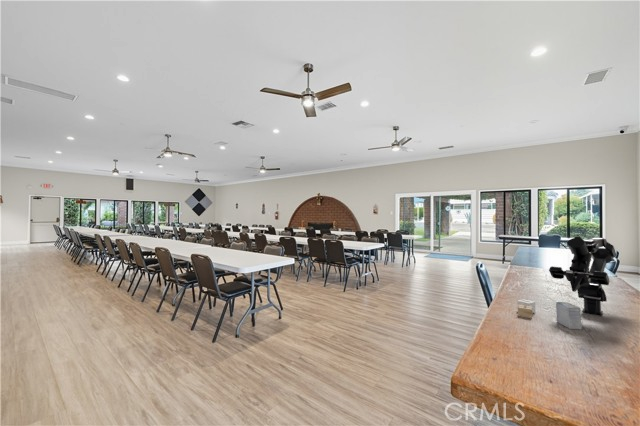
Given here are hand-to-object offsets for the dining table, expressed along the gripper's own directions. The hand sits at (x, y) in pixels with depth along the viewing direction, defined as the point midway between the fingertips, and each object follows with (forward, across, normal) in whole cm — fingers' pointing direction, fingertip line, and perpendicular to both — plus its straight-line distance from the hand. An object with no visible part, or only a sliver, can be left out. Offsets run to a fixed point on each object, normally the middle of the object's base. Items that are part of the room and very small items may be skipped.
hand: (573, 291), depth 118 cm
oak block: (+15, +15, -4) cm, 22 cm away
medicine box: (+14, 0, -4) cm, 15 cm away
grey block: (+10, +17, -9) cm, 22 cm away
